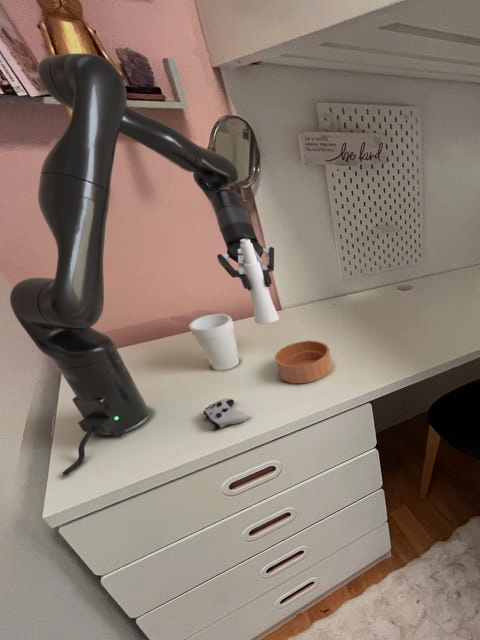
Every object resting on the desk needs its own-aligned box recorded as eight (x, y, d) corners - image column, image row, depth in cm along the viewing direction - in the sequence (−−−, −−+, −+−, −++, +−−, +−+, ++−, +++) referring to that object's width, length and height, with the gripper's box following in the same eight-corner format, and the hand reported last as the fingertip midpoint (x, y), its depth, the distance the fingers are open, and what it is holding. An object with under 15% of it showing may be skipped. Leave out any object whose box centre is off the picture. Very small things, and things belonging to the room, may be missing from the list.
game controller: (251, 416, 90) (225, 410, 85) (238, 437, 90) (211, 432, 85) (234, 398, 96) (208, 391, 91) (221, 417, 95) (195, 412, 90)
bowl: (319, 386, 102) (315, 368, 99) (270, 382, 103) (264, 364, 100) (339, 359, 113) (336, 342, 110) (295, 356, 114) (290, 339, 111)
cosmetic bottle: (253, 317, 111) (229, 238, 99) (277, 313, 114) (256, 235, 102) (256, 326, 107) (232, 244, 95) (281, 321, 109) (260, 241, 98)
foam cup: (249, 365, 109) (235, 323, 103) (211, 377, 104) (193, 333, 97) (239, 351, 115) (225, 310, 108) (202, 362, 110) (185, 320, 103)
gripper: (203, 224, 98) (227, 286, 97) (265, 217, 106) (288, 275, 104) (207, 240, 105) (229, 299, 103) (266, 233, 112) (287, 288, 110)
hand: (259, 287), depth 103 cm, fingers closed on cosmetic bottle, 4 cm apart
